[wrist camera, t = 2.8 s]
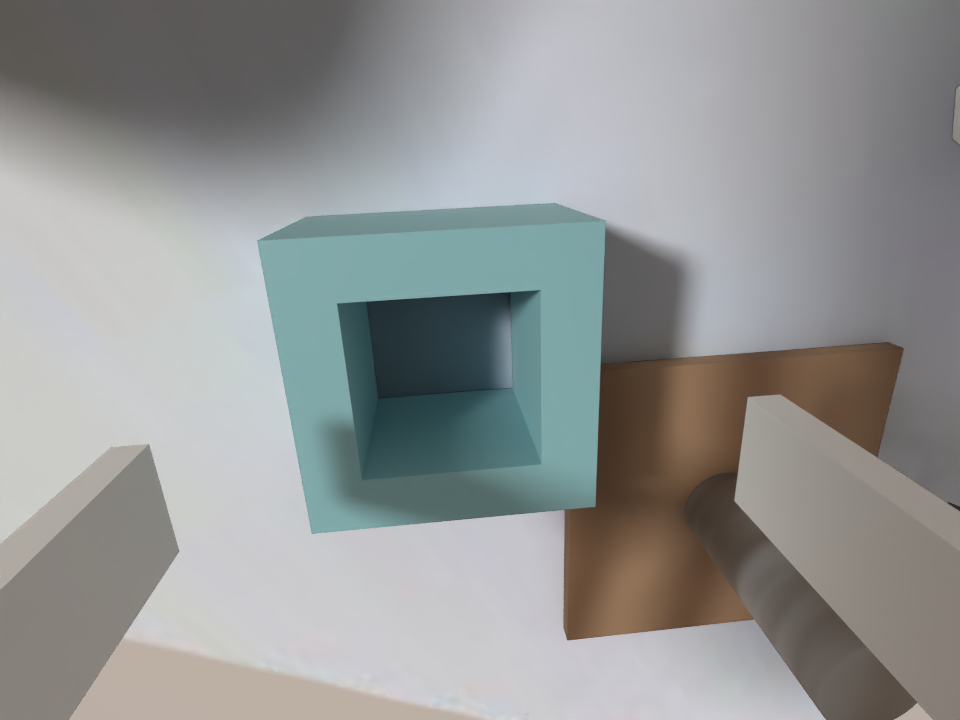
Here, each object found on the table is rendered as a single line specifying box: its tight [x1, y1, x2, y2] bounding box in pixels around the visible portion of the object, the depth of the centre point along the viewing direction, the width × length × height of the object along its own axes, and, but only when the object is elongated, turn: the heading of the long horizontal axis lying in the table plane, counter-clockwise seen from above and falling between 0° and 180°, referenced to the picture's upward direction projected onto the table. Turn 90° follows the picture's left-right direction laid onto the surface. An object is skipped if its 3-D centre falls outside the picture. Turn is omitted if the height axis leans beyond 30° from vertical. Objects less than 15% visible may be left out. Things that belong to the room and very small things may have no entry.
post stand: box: [564, 342, 917, 720], centre depth 21 cm, size 14×14×10 cm
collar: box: [257, 203, 606, 534], centre depth 18 cm, size 9×9×6 cm
